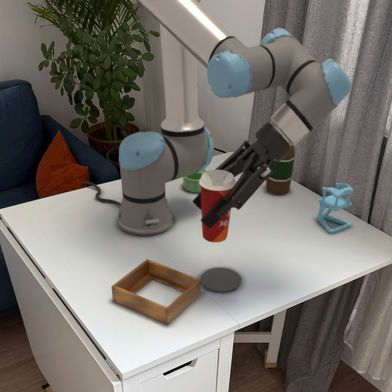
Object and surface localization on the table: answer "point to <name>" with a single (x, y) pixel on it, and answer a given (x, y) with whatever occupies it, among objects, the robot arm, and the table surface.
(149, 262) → the wooden frame
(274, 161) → the beer bottle
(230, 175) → the paper cup
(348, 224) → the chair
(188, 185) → the ramekin
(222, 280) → the coaster
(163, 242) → the table surface
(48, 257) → the table surface
